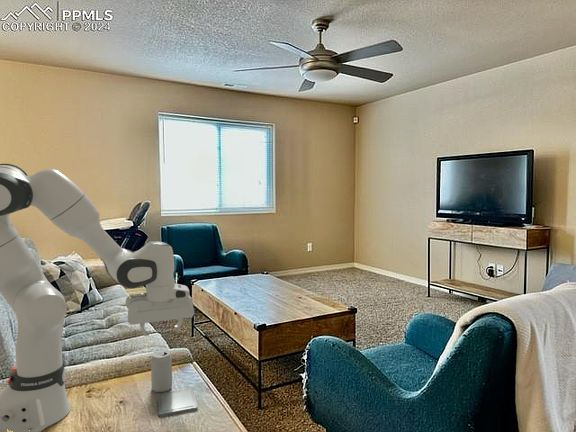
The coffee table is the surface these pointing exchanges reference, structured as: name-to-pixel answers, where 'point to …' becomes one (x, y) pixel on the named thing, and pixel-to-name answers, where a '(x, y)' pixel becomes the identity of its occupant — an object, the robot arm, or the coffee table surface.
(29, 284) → the robot arm
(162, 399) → the coaster
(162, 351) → the beverage can
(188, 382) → the coffee table surface
